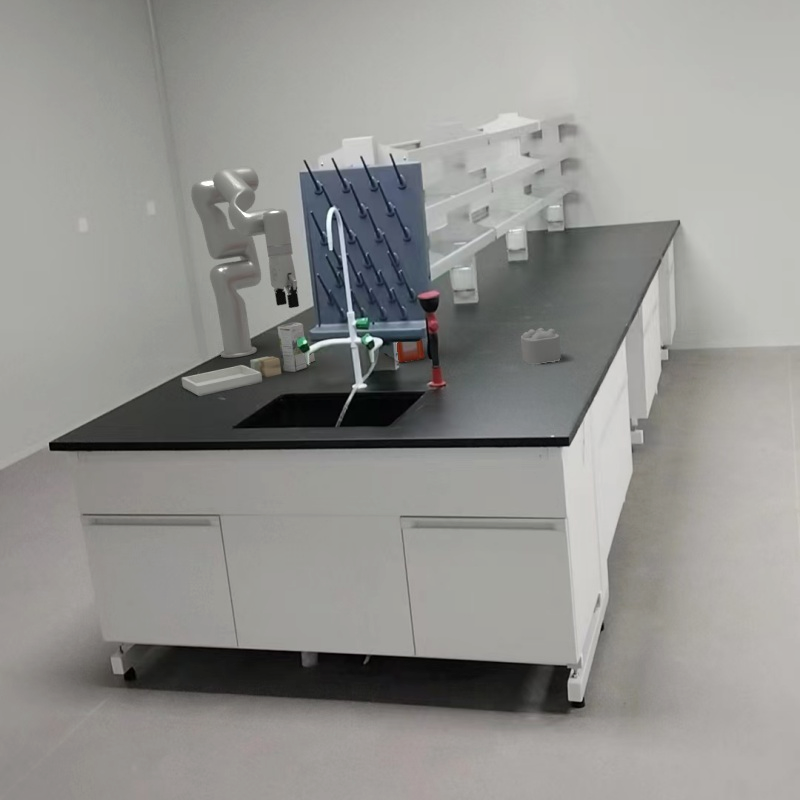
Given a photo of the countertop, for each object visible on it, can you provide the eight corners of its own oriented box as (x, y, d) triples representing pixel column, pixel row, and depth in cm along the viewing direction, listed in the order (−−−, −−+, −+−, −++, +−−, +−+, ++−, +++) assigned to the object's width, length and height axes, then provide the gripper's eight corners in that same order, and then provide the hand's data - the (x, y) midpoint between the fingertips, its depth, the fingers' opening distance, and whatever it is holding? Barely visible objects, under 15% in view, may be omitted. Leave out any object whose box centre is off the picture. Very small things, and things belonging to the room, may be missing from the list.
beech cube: (260, 374, 323) (258, 359, 321) (275, 371, 325) (273, 356, 324) (266, 377, 318) (264, 361, 317) (281, 374, 321) (279, 358, 319)
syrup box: (295, 366, 328) (289, 322, 325) (308, 368, 325) (302, 322, 321) (282, 371, 324) (276, 325, 320) (296, 372, 320) (289, 326, 317)
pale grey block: (296, 362, 334) (294, 344, 333) (310, 359, 337) (308, 341, 335) (303, 364, 330) (300, 346, 329) (317, 361, 332) (314, 343, 331)
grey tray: (183, 387, 317) (181, 377, 316) (243, 374, 326) (242, 364, 325) (199, 396, 303) (197, 386, 302) (262, 382, 312) (261, 372, 311)
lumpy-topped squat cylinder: (530, 366, 297) (527, 336, 294) (517, 357, 309) (515, 328, 307) (564, 360, 298) (562, 331, 296) (550, 352, 311) (548, 324, 308)
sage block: (251, 372, 328) (250, 359, 327) (269, 368, 331) (267, 356, 330) (256, 374, 325) (254, 361, 324) (273, 370, 327) (272, 358, 326)
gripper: (258, 251, 320) (266, 305, 325) (279, 253, 305) (287, 310, 310) (280, 248, 324) (288, 301, 328) (302, 249, 309) (310, 306, 313)
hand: (287, 305), depth 319 cm, fingers open, 9 cm apart
